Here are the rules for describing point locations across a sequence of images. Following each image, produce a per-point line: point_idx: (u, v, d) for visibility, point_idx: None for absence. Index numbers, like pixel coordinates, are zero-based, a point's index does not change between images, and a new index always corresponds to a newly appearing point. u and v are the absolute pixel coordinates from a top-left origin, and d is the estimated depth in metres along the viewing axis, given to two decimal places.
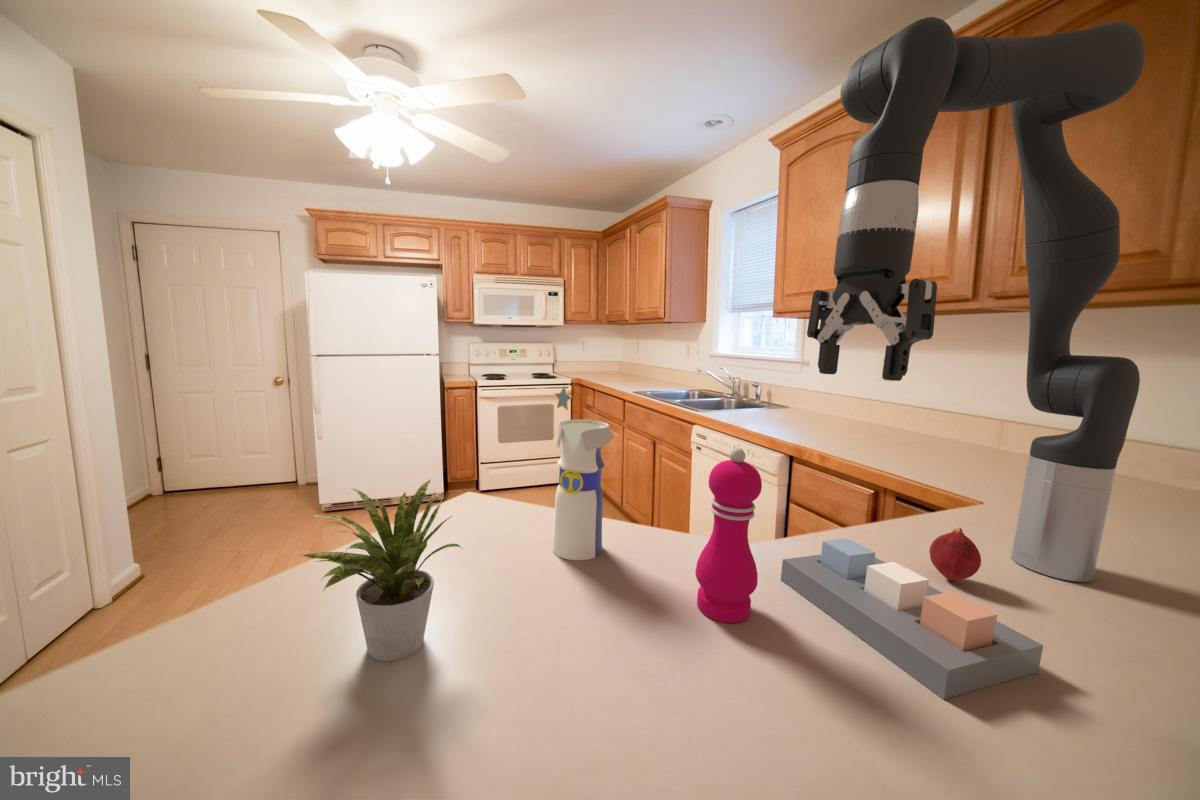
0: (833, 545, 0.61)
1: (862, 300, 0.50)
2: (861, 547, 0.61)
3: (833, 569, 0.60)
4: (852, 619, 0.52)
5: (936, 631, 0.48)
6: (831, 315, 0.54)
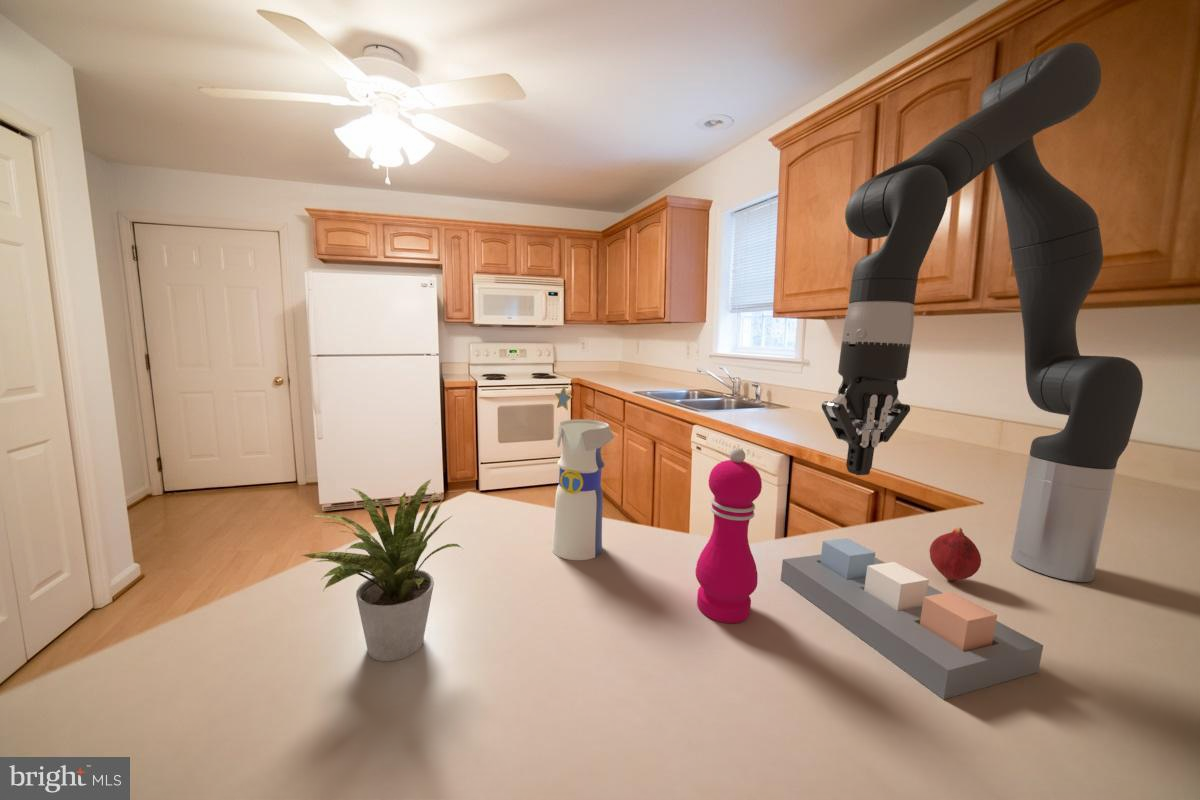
0: (833, 545, 0.61)
1: (886, 401, 0.57)
2: (861, 547, 0.61)
3: (833, 569, 0.60)
4: (852, 619, 0.52)
5: (936, 631, 0.48)
6: (868, 420, 0.57)
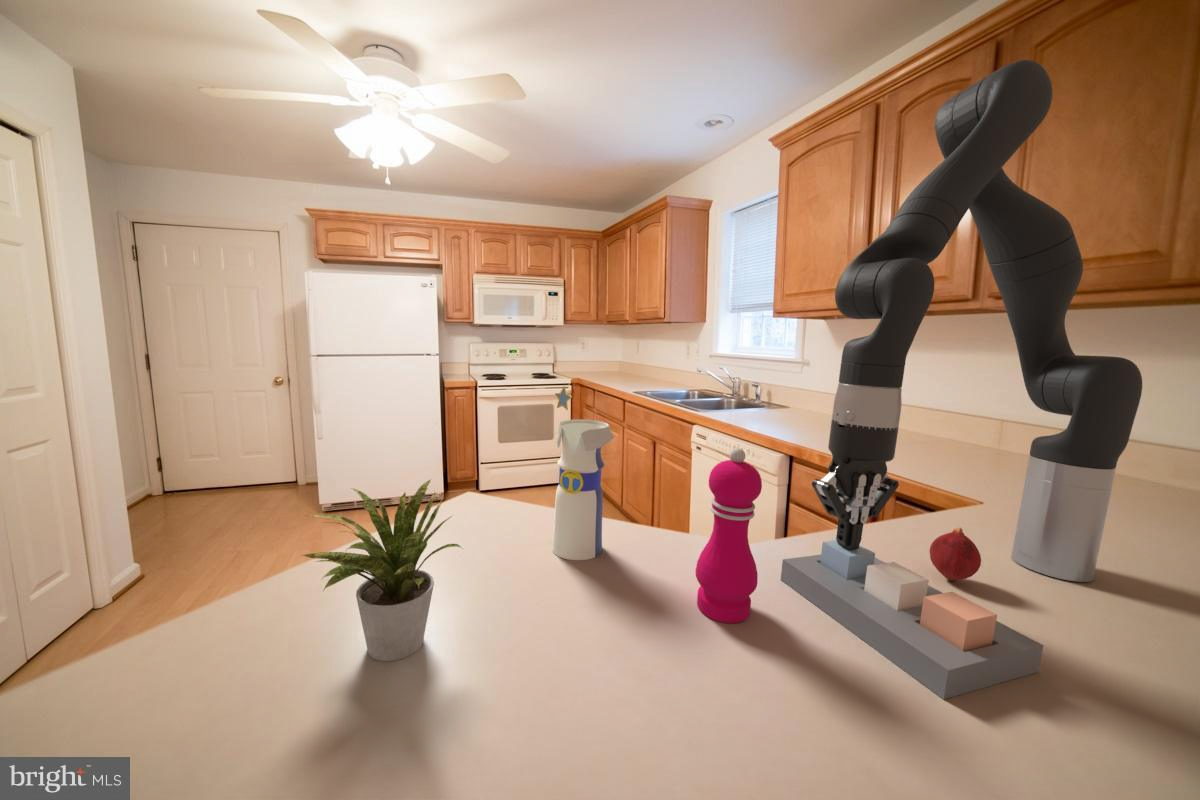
0: (833, 546, 0.61)
1: (875, 479, 0.58)
2: (861, 548, 0.61)
3: (833, 570, 0.60)
4: (852, 619, 0.52)
5: (936, 631, 0.48)
6: (857, 498, 0.58)
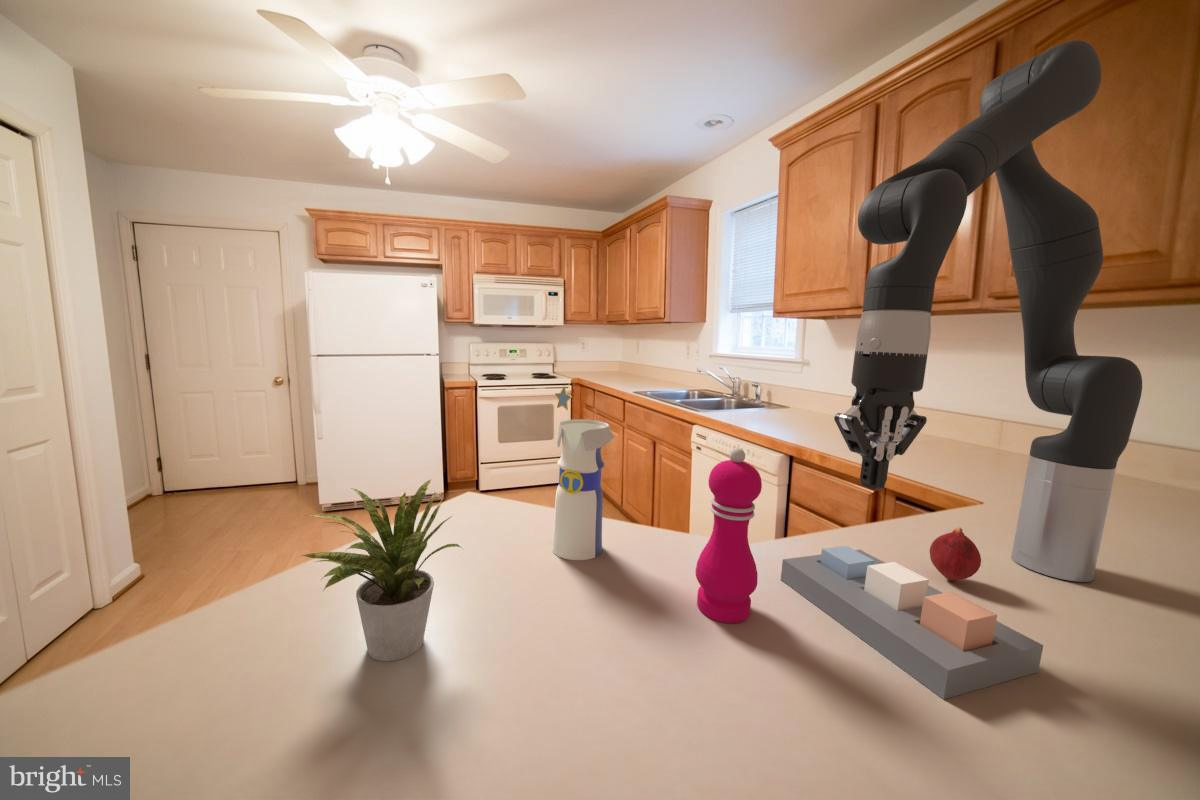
0: (832, 553, 0.61)
1: (902, 413, 0.55)
2: (860, 555, 0.61)
3: None
4: (852, 619, 0.52)
5: (936, 631, 0.48)
6: (883, 432, 0.55)
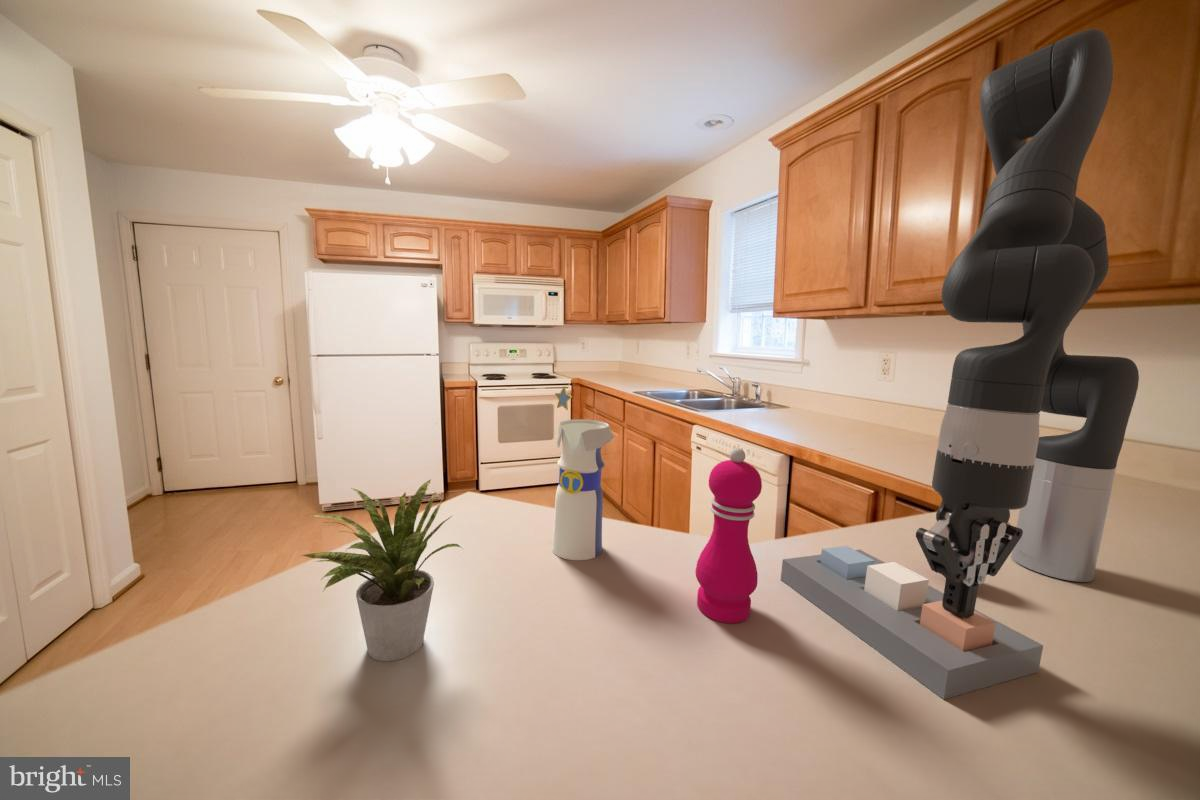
0: (832, 553, 0.61)
1: (999, 530, 0.45)
2: (860, 555, 0.61)
3: None
4: (852, 619, 0.52)
5: None
6: (977, 554, 0.45)
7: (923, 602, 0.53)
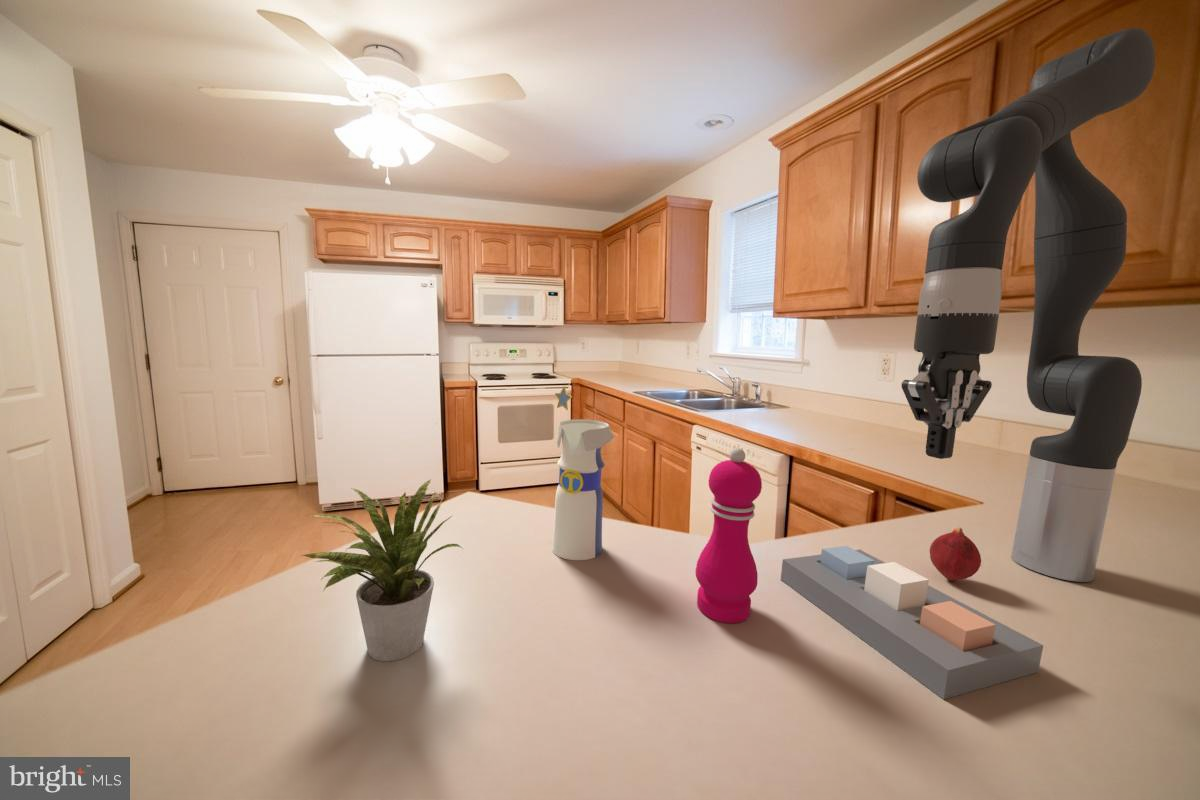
0: (832, 553, 0.61)
1: (971, 377, 0.52)
2: (860, 555, 0.61)
3: None
4: (852, 619, 0.52)
5: None
6: (953, 398, 0.52)
7: (923, 602, 0.53)
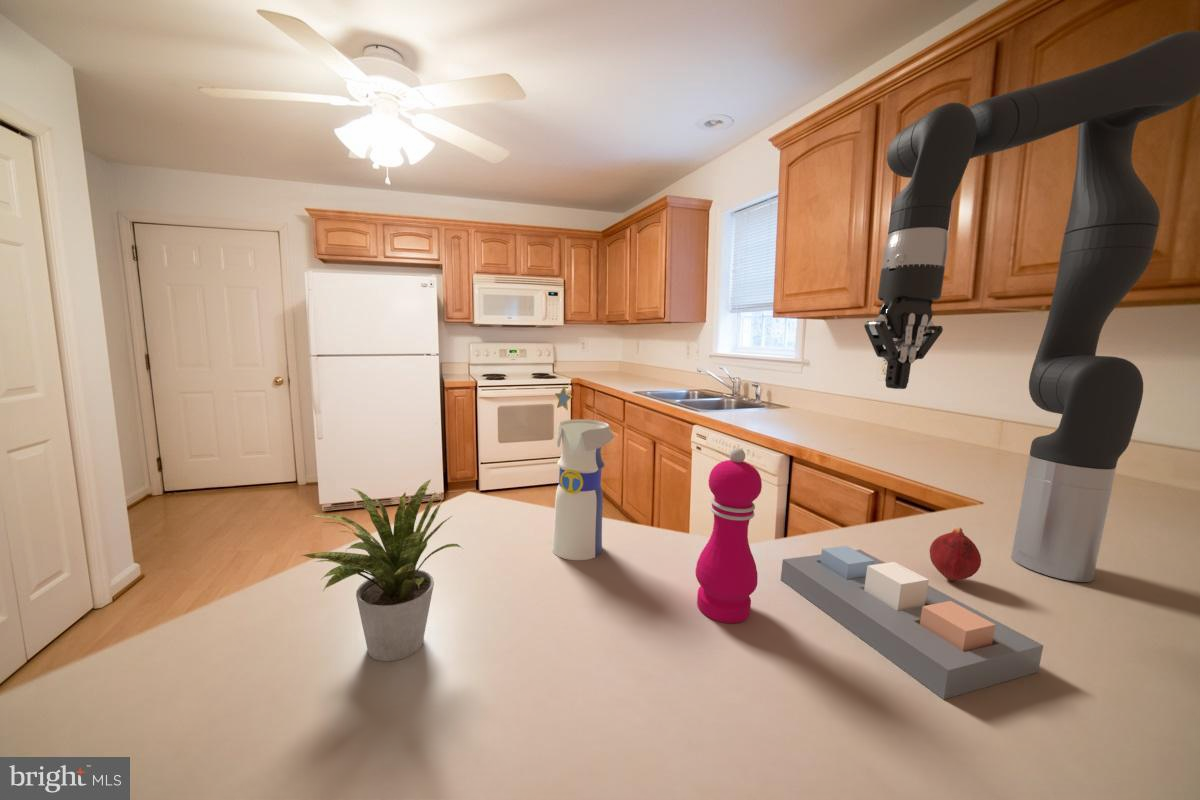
0: (832, 553, 0.61)
1: (922, 319, 0.64)
2: (860, 555, 0.61)
3: None
4: (852, 619, 0.52)
5: None
6: (906, 336, 0.63)
7: (923, 602, 0.53)
